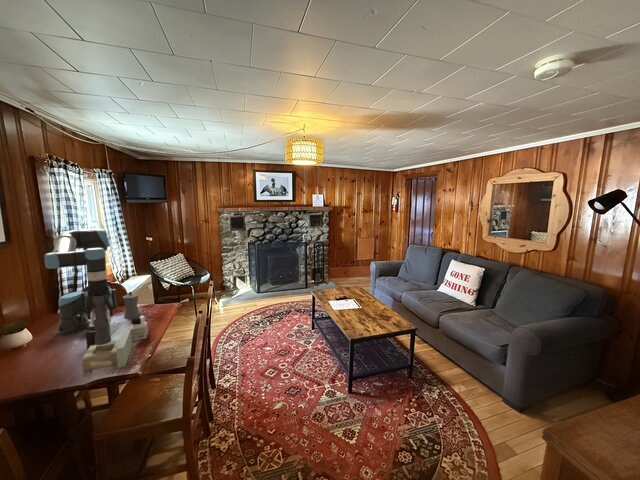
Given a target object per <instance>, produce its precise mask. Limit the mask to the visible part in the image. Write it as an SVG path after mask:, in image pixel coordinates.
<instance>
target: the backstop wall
mask: <svg viewBox="0 0 640 480" xmlns="http://www.w3.org/2000/svg"><path fill="white" fill-rule="evenodd" d="M119 340H120V341H119ZM119 340H118V341H119V344H118V346H117V348H116V352H117V363H118V364H117V368H118V369H119V368H124V367H126V365H127V362H128V360H129V359H128V358H130V357H129V356H130V354H131V350H132V347H133V341H132V338H131V329H130V328H129V329H124V330H123V332H122V334H121V337H120V339H119Z"/></svg>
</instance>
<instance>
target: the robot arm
mask: <svg viewBox="0 0 640 480" xmlns="http://www.w3.org/2000/svg"><path fill="white" fill-rule="evenodd" d="M108 237H109V236H108V234H107V229H104V228H91V229H89V228H88V229H86V228H85V229H71V230H67V231H64V232H62V233H60V234H58V235H57V236H56V237H55V238H54V239H53V246H54V248H53V250H52V252H48V253H45V254H44V264H45V265H44V266H45V268H46V269H49V270H50V269H60V268H70V267H81V266H85V267H86V278H87V280H88V281H87V288H88V289H87V291H80V290H79V291H74V292H69V293H66V294H64V295H61V296H60V297H59V299H58V307H59V318H60V319H59V320H60V322H59V324H58V327H57V334H58V335H62V336H63V335H66V336H67V335H72V334H73V335H74V334H77V333H79V332H83V331H86V330H87V328H88V327H92V326H94V322H95V321H94V320H95V314H94V311H95V309H93V307H94V306H95V305H94V304H93V302H92V300H93V299H92V296H98V295H104V299H105V305H107V307H106V308H107V312H106V313H107V318H108V324H111V323H112V317H113V316H114V310H115V309H117V307H118V302H117V297H116V292H117V291H116V290H117V289H116V288H113V289H112V288H111V287H110V286H109V285H108V284H109V283H108V270H107V259H106V252H107V251H108V248H109V247H110V246H111V245H110V240H109V238H108ZM75 249H76V250H75ZM78 249H80V250H78ZM81 249H82V250H81ZM105 295H106V297H105ZM106 308H105V309H106ZM86 314H87V316H86ZM76 315H82V320H83V322H82V323H87V322H90V321H91V323H89V324H85V325H80V323H77V321H76V320H74V317H75V316H76ZM89 320H90V321H89Z"/></svg>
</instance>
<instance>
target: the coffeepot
mask: <svg viewBox="0 0 640 480" xmlns="http://www.w3.org/2000/svg"><path fill="white" fill-rule="evenodd" d="M122 300H123V305H124V307H125V309H124V315H123V317H124V319H129V318H130V319H132V318H133V317H135V316H139V315H141V314H140V310H139V306H138V303H139V294H138V293H132V291H130V292H127V294H126V295H123V296H122Z"/></svg>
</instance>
